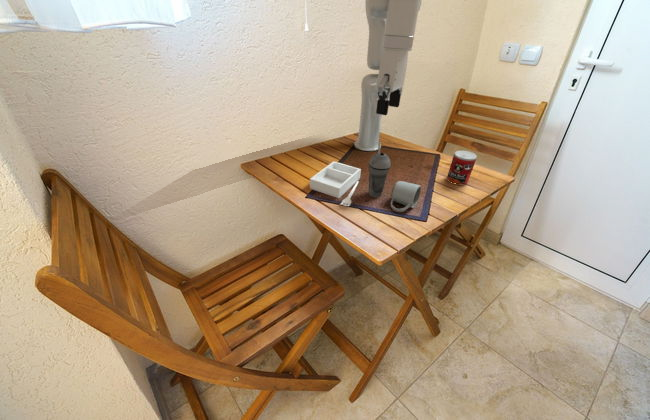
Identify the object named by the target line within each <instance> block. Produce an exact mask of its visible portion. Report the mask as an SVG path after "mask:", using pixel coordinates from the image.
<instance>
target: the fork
mask: <svg viewBox="0 0 650 420" xmlns="http://www.w3.org/2000/svg"><path fill="white" fill-rule="evenodd" d="M359 183H360V181H359V180H358V181H357V182H356V183H355V184H354V185H353V188H352V189H351V191H350V192H349V193H348V195H347V197H345V198H343V200H342V201H341V203H339V205H341V206H346V207H349V206H351V204H352V200H351V198H352V196H353V194H354V192H355V191H356V189H357V186H358V184H359Z"/></svg>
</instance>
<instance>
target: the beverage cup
mask: <svg viewBox="0 0 650 420" xmlns="http://www.w3.org/2000/svg"><path fill="white" fill-rule="evenodd" d="M378 142H379V144H378V150H377V151H378V152H377V153H374V154H373V155H372V156H371V157H370V159H369V162H368V170H369V174H368V175H369V176H368V195H369V196H370V197H372V198H376V199H378V198H381V197H382V194H383V192H384V188H385V184H386V180H387V177H388V173H389V171H390V169H391V159H390V157H389V156H388V155H387V153H384V152H381V148H380V144H381V140H380V139H379V140H378Z"/></svg>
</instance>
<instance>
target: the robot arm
mask: <svg viewBox="0 0 650 420" xmlns="http://www.w3.org/2000/svg"><path fill="white" fill-rule="evenodd" d="M421 6H422V0H365V6H364V7H365V14H366V19H367V24H368V41H367V42H368V43H367V55H366V56H367V57H366V63H367V65H366V66H367V67H368V69H370V70H373V71H378V73H369V74H366V75H365V76H364V77H362V80H361V82H360V83H361V84H360V85H361V86H360V87H361V89H360V90H361V91H360V92H361V104H360V105H361V108H360V114H359V115H360V116H359V118H360V119H359V126H358V135H357V136H358V137H357V140H356V141H354V144H353V145H354V147H355V148H356V149H357V150H360V151H365V152H376V151H378V144H379V140H380V136H381V134H380V132H381V126H382V125H381V123H382V116H387V115H388V111H389V107H393V108H399V107H400V103H401V97H402V94H403V91H404V85H405V79H406V74H407V66H408V59H409V58H408V57H409V52H412V51H413V50H412V49H413V45H414V37H415V32H416V26H417V20H418V17H419V16H418V15H419V11H420V10H421ZM381 147H382V144H381V143H380V149H381Z"/></svg>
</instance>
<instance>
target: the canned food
mask: <svg viewBox="0 0 650 420" xmlns="http://www.w3.org/2000/svg"><path fill="white" fill-rule="evenodd" d="M477 157H478V156H477V154H475V153H474V152H473V151H468V150H457V151H455V152H454V154H453V157H452V159H451V162H450V167H449V169H448V173H447V177H446V178H447V179H448V180H449V181H450V182H452V183H456V184H465V185H466V184H467V183H468V182H469V180H470V178H471V174H472V173H473V172H472V171H473V168H474V166H475V163H476V160H477V159H478V158H477ZM447 179H446V180H447ZM448 180H447V181H448ZM449 181H448V182H449ZM450 182H449V183H450ZM452 183H451V184H452Z"/></svg>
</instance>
